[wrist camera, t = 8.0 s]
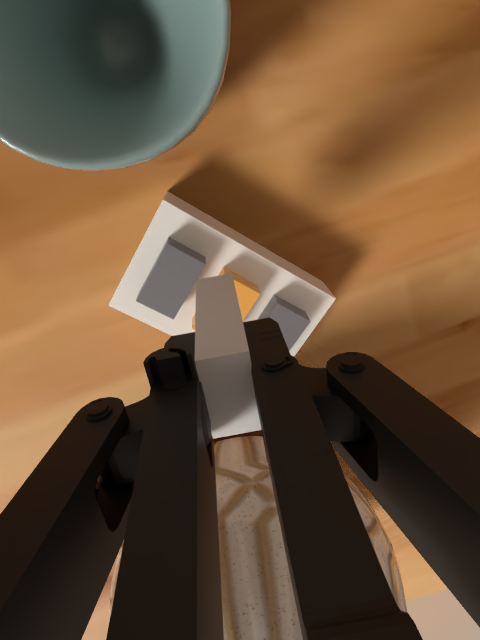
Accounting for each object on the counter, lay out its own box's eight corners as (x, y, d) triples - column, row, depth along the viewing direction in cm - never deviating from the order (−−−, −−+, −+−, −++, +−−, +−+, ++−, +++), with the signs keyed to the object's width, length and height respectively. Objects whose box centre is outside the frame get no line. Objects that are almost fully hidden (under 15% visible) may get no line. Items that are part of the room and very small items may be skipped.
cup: (196, -68, 18) (193, -267, 9) (232, 133, 21) (257, 142, 12) (12, -30, 18) (-185, -189, 9) (77, 165, 21) (-15, 199, 12)
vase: (395, 466, 31) (661, 933, 13) (254, 585, 36) (310, 1059, 18) (229, 350, 26) (297, 866, 8) (86, 506, 30) (-78, 1069, 12)
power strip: (118, 284, 24) (103, 315, 20) (167, 190, 22) (160, 204, 18) (266, 357, 27) (277, 396, 23) (321, 279, 25) (342, 307, 21)
